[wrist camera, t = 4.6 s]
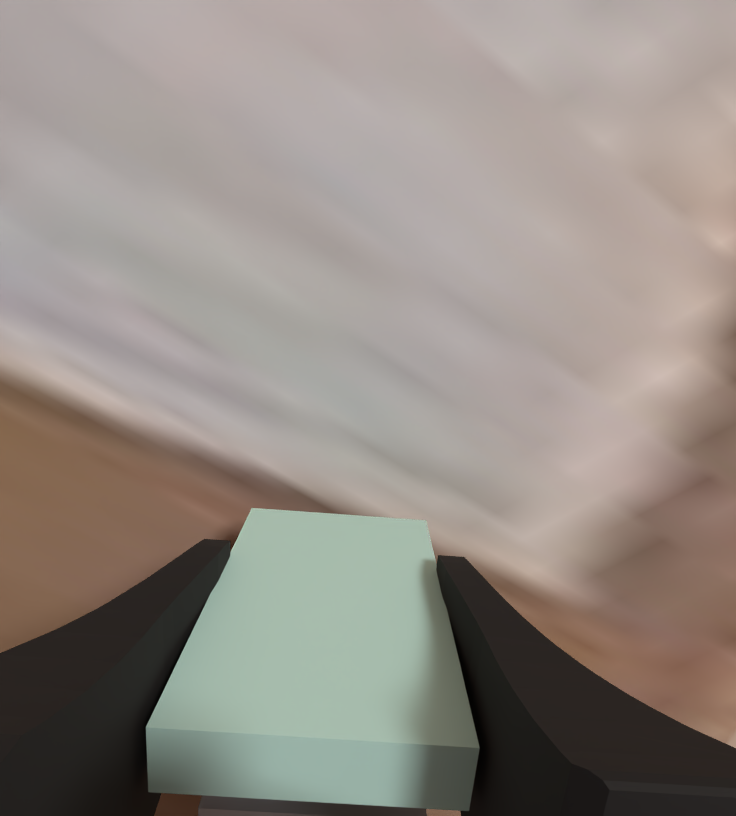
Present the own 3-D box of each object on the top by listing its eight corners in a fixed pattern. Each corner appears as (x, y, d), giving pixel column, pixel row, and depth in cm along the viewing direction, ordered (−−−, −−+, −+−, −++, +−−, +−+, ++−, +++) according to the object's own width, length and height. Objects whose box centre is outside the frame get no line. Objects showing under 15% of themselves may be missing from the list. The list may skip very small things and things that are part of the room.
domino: (400, 639, 18) (421, 863, 11) (262, 630, 18) (198, 850, 11) (403, 609, 18) (427, 821, 11) (263, 600, 17) (198, 808, 11)
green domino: (251, 507, 14) (146, 727, 7) (426, 520, 14) (479, 747, 7) (251, 546, 14) (147, 792, 8) (421, 558, 15) (468, 810, 8)
